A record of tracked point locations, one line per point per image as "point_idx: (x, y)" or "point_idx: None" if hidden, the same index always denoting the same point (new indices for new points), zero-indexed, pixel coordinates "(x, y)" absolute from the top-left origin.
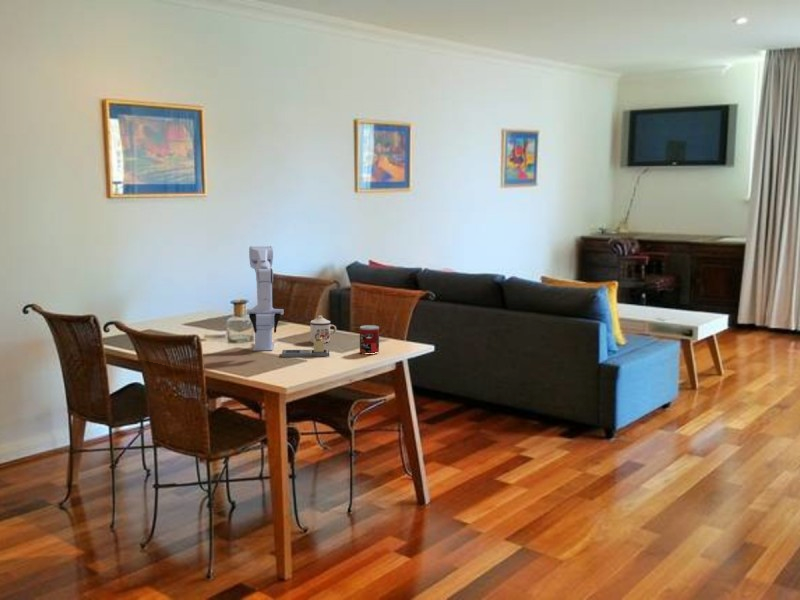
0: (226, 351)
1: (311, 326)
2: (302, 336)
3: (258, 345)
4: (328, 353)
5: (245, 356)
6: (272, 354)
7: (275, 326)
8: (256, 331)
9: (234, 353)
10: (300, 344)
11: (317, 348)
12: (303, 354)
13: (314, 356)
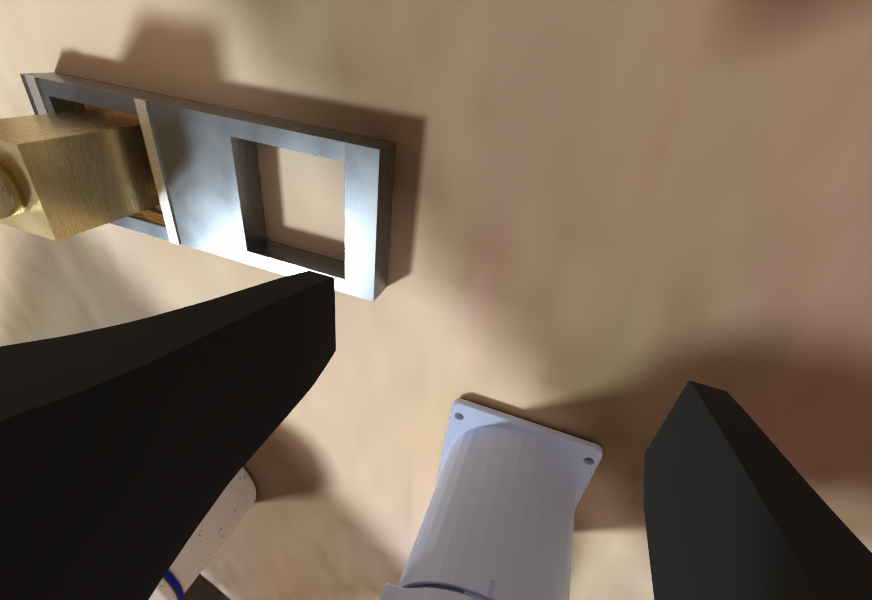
0: (853, 521)
1: (180, 557)
2: (305, 578)
3: (554, 473)
4: (30, 75)
5: (758, 279)
6: (469, 281)
7: (212, 311)
8: (672, 427)
9: (815, 433)
10: (296, 467)
11: (68, 125)
12: (204, 110)
13: (143, 91)
